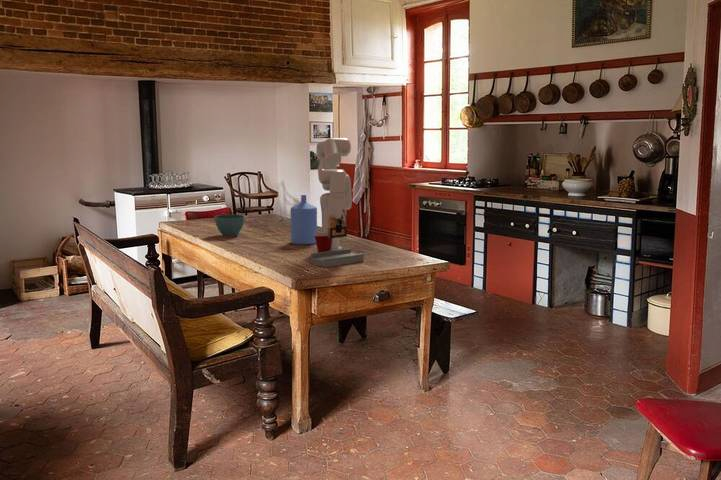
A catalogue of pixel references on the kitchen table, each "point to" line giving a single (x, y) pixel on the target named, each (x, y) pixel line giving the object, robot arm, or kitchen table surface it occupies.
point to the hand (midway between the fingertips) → (337, 232)
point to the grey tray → (336, 258)
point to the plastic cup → (323, 242)
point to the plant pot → (229, 224)
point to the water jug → (303, 223)
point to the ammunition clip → (332, 228)
